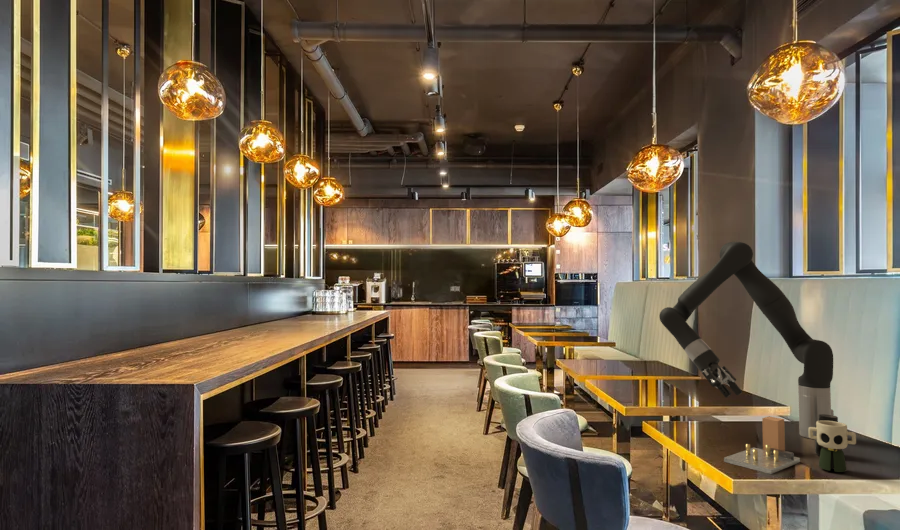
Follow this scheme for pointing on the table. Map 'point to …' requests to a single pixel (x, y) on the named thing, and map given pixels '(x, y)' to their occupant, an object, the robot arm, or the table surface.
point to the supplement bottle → (821, 418)
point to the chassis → (763, 459)
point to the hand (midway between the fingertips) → (734, 395)
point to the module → (773, 433)
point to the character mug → (832, 444)
